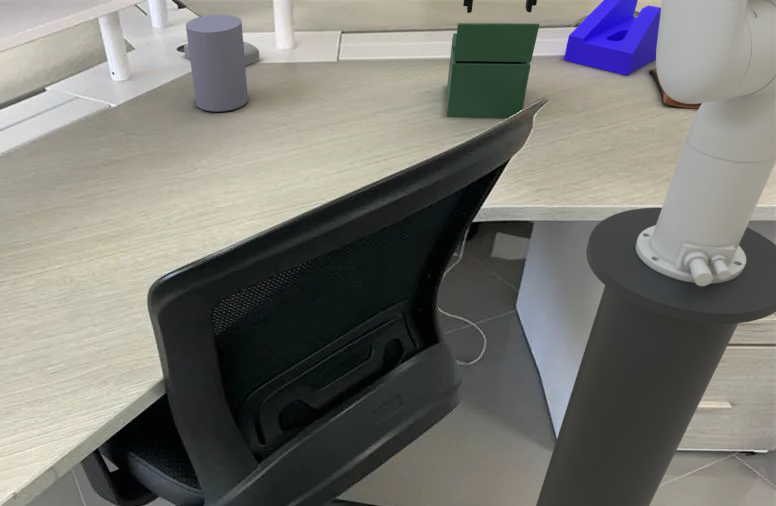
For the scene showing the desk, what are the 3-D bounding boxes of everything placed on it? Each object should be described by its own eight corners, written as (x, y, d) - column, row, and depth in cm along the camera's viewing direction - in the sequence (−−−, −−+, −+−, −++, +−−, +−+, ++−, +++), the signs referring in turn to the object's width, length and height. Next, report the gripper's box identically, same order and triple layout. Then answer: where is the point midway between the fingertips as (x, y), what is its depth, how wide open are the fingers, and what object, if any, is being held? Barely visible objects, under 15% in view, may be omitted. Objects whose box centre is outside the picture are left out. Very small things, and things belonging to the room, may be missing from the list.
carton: (520, 118, 126) (531, 60, 119) (446, 116, 128) (453, 59, 122) (515, 88, 136) (524, 33, 130) (447, 87, 139) (452, 33, 132)
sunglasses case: (646, 68, 139) (674, 38, 135) (673, 87, 140) (702, 58, 136) (663, 105, 126) (694, 73, 122) (693, 125, 127) (725, 95, 123)
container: (254, 93, 141) (248, 15, 132) (239, 114, 134) (231, 33, 124) (206, 90, 144) (197, 13, 134) (188, 111, 136) (177, 31, 127)
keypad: (216, 29, 162) (258, 43, 153) (218, 46, 164) (259, 60, 155) (183, 40, 157) (224, 55, 149) (185, 57, 160) (226, 72, 151)
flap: (530, 60, 120) (531, 62, 119) (453, 59, 122) (453, 61, 122) (539, 23, 114) (539, 24, 114) (457, 23, 116) (457, 24, 116)
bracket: (614, 34, 156) (627, -17, 150) (675, 47, 148) (692, -6, 142) (563, 60, 146) (575, 6, 139) (626, 75, 138) (642, 19, 131)
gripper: (456, -102, 106) (445, 17, 117) (577, -107, 103) (554, 16, 114) (456, -110, 112) (446, 4, 123) (570, -115, 109) (549, 3, 120)
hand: (498, 10), depth 118 cm, fingers open, 9 cm apart
